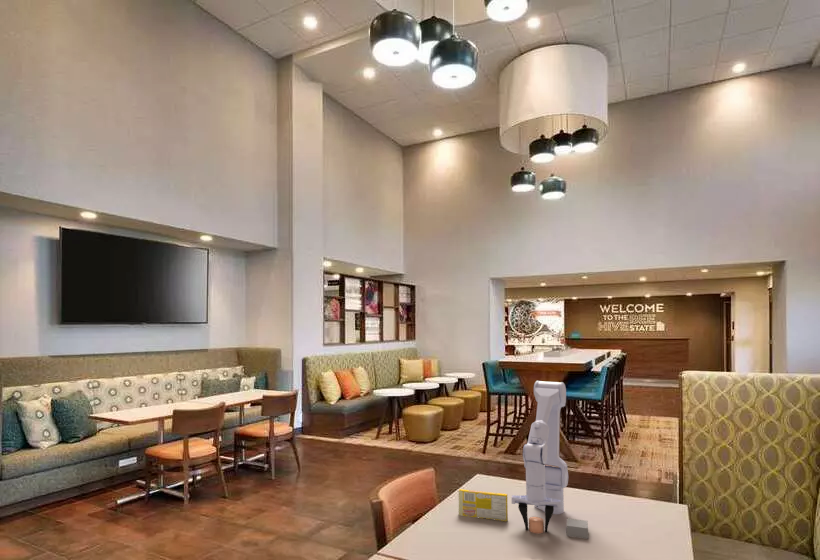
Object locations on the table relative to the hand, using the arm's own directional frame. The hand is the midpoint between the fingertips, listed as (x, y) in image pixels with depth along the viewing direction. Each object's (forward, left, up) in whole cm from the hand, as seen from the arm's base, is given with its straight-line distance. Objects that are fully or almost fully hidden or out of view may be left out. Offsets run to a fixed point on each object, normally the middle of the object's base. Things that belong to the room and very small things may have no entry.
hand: (536, 529), depth 151 cm
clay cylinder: (0, 0, -2) cm, 2 cm away
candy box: (-19, -5, -2) cm, 20 cm away
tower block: (+8, +9, 0) cm, 12 cm away
